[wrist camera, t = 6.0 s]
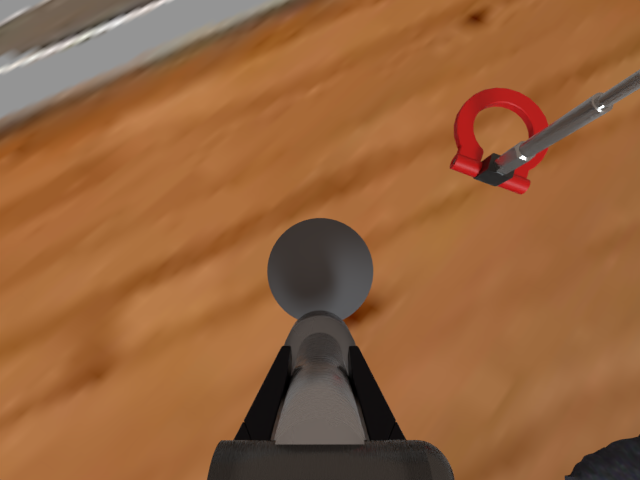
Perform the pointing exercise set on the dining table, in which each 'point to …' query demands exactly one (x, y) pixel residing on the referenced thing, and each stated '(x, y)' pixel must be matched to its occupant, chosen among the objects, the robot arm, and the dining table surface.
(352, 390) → the robot arm
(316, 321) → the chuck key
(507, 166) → the tow hook
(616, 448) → the cast iron trivet
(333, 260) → the mat
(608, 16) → the dining table surface
